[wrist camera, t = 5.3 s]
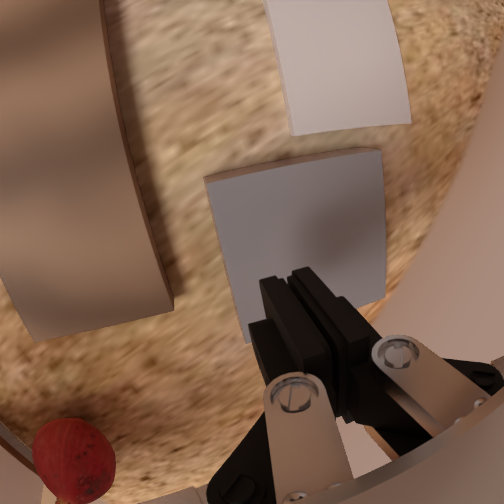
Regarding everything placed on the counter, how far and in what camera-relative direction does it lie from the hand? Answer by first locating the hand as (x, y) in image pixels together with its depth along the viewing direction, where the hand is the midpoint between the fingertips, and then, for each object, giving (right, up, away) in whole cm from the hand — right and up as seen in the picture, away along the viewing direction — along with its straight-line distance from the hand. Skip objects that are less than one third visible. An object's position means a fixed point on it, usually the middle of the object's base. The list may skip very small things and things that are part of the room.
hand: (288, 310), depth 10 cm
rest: (-11, +7, +1) cm, 13 cm away
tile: (-2, +1, +4) cm, 5 cm away
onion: (-14, -10, +7) cm, 18 cm away
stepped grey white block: (+2, +16, 0) cm, 16 cm away
